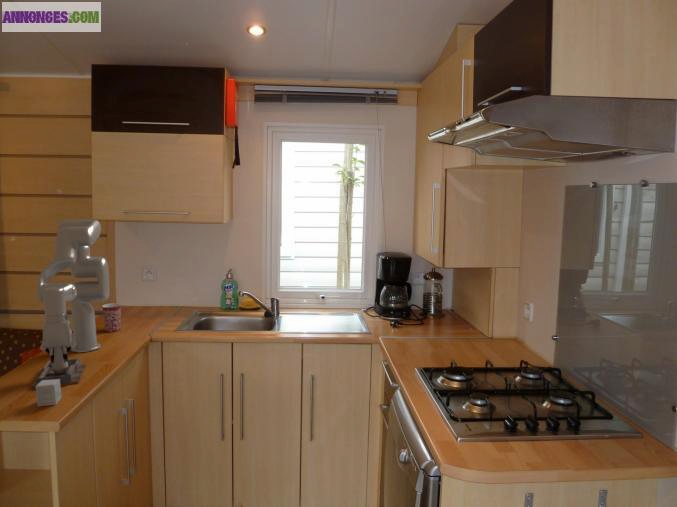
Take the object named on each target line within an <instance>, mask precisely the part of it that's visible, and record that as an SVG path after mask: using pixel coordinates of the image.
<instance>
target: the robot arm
mask: <svg viewBox="0 0 677 507" xmlns="http://www.w3.org/2000/svg"><path fill="white" fill-rule="evenodd" d="M57 227H58V228H57V229H58V230H57V233H56V238H55V239H56V240H55V246H54V253H53V254H54V255H53V259H52V260H51V261H50V262H49V263H48V264H47V265H45V267H44V268H43V270H42V271H41V272H40V273H39V276H38V279H37V287H36V297H37V300H38V301H39V302H41V303H42V304H43V309H44V320H45V321H44V322H43V326H42V342H41V344H40V347H39V350H40V351H43V352H45V353H46V354H49V356H50V361H51V363H54V347H55V345H56V344H58V345H59V346H60V347H63V351H64V352H63V353H64V354H63V359H64V362H65V359H66V361H68V359H69V358H68V353H69V352H70V351H71V352H72V353H88V352H93V351H95V350H99V349H100V348H101V347H102V346H101V343H99V342H98V341H97V339H98V338H97V327H96V315H95V314H96V313H95V309H94V306H92V304H91V303H90V302H93V303H94V302H104V301H105V302H106V301H107V300H108V299H109V297H110V293H111V291H110V290H111V287H110V272H109V270H110V269H109V263H108V261H107V259H106V258H105V257H103V256H91V248H90V246H92V245H94V244H95V243H96V242H97V240H98V239H99V237H100V236H101V233H102V226H101V223H100V221H98V220H97V219H91V218H90V219H65V220H62V221H60V222H59V223H58V226H57ZM69 268H70V274H71V276H72V277H73V278H75V279H92V278H93V279H95V278H96V279H97V280H80V281H78V280H77V281H74V282H71V283H70V282H69V283H68V282H65V283H64V282H63V283H62V282H60V283H58V282H57V283H49V282H50V280H51V278H52V277H53V276H55V275H56V274H58V273H61V272H62V271H65V270H67V269H69ZM68 302H69V304H70V309H71V314H69V313H67V306H66V305H67V303H68ZM69 319H71V320H72V323H71V321H70V320H69ZM71 324H72V325H71Z"/></svg>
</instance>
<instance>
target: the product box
mask: <svg viewBox="0 0 677 507" xmlns="http://www.w3.org/2000/svg"><path fill="white" fill-rule="evenodd" d="M61 386H62V385H60V379H55V380H42V381H41V382H40V383H39V384H38V385H37V386H36V388H35V395H36V405H37V407H44V406H46V407H47V406H56V405H57V404H58V403H59V402H60V400H62V389H61V388H62V387H61Z"/></svg>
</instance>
